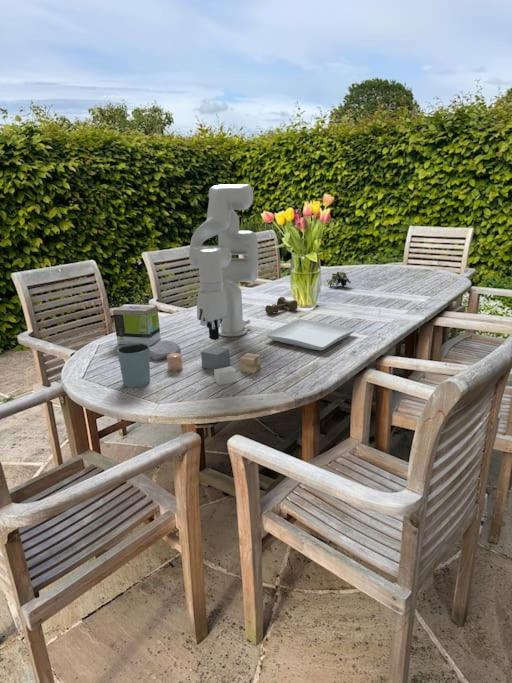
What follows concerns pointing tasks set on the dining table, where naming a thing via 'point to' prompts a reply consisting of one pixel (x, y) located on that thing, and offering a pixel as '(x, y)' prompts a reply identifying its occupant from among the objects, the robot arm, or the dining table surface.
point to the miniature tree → (338, 279)
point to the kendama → (281, 306)
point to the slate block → (215, 357)
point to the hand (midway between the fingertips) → (214, 338)
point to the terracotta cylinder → (174, 362)
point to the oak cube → (250, 363)
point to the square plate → (310, 334)
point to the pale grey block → (225, 375)
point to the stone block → (163, 349)
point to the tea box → (137, 324)
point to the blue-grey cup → (134, 364)
